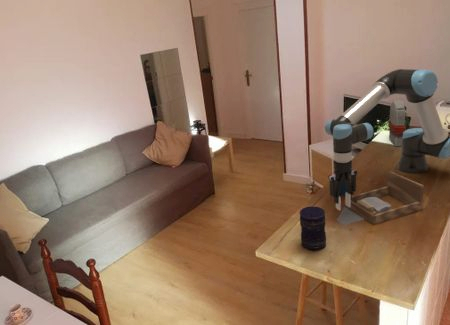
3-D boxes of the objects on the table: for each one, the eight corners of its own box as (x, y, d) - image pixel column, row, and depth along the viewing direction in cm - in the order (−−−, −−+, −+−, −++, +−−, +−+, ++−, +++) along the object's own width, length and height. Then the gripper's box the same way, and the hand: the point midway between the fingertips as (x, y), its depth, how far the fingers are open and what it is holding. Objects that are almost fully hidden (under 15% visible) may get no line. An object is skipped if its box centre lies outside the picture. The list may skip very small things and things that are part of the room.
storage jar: (303, 236, 146) (302, 205, 141) (327, 239, 142) (326, 207, 137) (299, 250, 137) (297, 217, 132) (324, 253, 134) (323, 219, 128)
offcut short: (362, 204, 160) (362, 199, 159) (373, 211, 153) (373, 206, 152) (356, 205, 160) (356, 200, 159) (367, 213, 152) (367, 208, 151)
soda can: (350, 192, 178) (350, 171, 174) (343, 197, 174) (343, 176, 170) (337, 189, 183) (337, 168, 179) (331, 194, 179) (330, 173, 175)
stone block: (375, 204, 167) (358, 206, 163) (377, 195, 165) (360, 197, 162) (393, 215, 156) (376, 217, 153) (396, 205, 154) (378, 207, 151)
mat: (342, 205, 167) (342, 204, 167) (364, 219, 152) (364, 219, 152) (323, 210, 164) (323, 210, 164) (343, 225, 150) (343, 225, 150)
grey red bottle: (404, 147, 229) (407, 102, 219) (394, 147, 231) (396, 103, 221) (397, 138, 247) (399, 97, 237) (387, 139, 249) (389, 98, 239)
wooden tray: (388, 192, 173) (389, 170, 169) (421, 209, 154) (423, 185, 150) (344, 205, 166) (344, 183, 162) (373, 224, 148) (374, 199, 144)
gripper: (354, 153, 155) (354, 199, 163) (320, 161, 150) (321, 209, 158) (365, 158, 148) (364, 206, 156) (330, 167, 144) (331, 215, 151)
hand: (343, 207), depth 157 cm, fingers open, 4 cm apart
